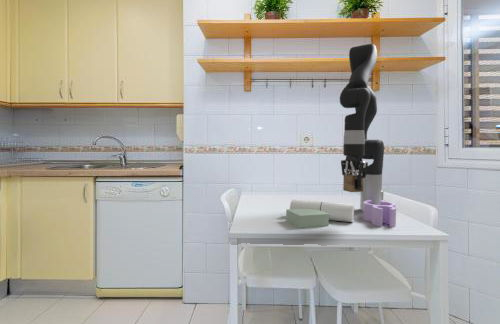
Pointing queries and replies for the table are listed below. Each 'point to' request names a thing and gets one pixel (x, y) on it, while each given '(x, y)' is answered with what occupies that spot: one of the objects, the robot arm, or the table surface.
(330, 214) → the cylindrical container
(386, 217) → the clip
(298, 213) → the green box
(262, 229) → the table surface
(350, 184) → the walnut block
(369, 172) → the robot arm
